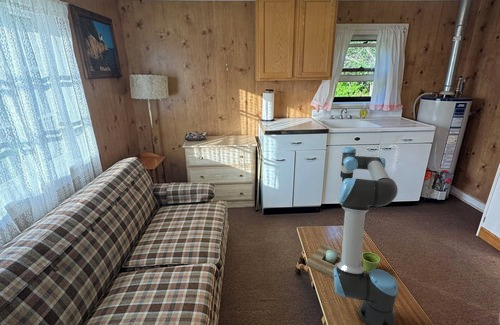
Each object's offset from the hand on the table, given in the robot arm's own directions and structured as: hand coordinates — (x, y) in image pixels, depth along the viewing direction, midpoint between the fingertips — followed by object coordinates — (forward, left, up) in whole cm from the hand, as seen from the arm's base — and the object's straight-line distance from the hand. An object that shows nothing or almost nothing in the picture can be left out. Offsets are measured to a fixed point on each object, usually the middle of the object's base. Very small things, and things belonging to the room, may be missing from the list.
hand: (343, 204), depth 176 cm
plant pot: (-20, -26, -25) cm, 42 cm away
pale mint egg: (-30, -7, -22) cm, 38 cm away
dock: (-30, -7, -25) cm, 40 cm away
